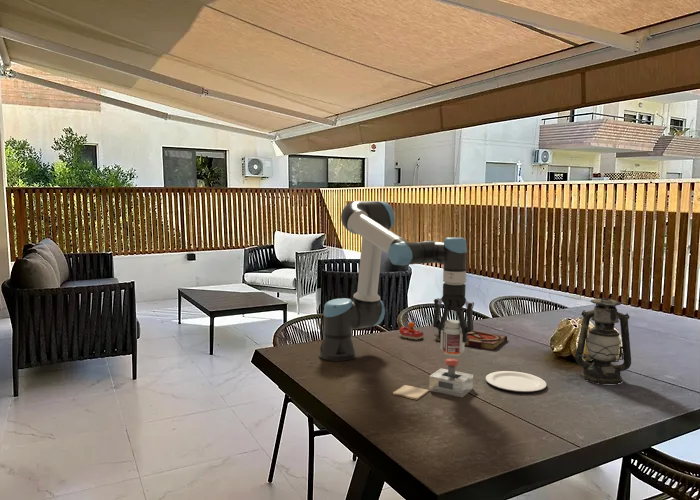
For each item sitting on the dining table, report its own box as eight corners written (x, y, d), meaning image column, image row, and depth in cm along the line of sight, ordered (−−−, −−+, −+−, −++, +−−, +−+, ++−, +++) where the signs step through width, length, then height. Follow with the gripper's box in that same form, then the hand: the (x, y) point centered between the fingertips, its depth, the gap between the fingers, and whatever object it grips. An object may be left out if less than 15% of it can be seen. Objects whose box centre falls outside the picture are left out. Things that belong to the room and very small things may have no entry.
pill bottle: (465, 354, 178) (466, 322, 177) (452, 357, 174) (453, 324, 173) (452, 350, 183) (453, 318, 182) (439, 352, 180) (440, 320, 179)
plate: (515, 399, 172) (515, 394, 172) (473, 380, 191) (473, 375, 191) (559, 389, 182) (559, 384, 182) (515, 372, 200) (515, 367, 200)
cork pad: (392, 394, 175) (392, 392, 175) (404, 386, 182) (404, 384, 182) (417, 400, 170) (417, 398, 170) (428, 391, 177) (428, 390, 177)
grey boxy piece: (428, 390, 179) (429, 376, 178) (440, 381, 187) (440, 368, 187) (462, 397, 172) (462, 383, 172) (472, 388, 181) (473, 374, 180)
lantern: (626, 375, 197) (631, 297, 194) (636, 392, 179) (641, 306, 176) (572, 369, 203) (576, 293, 200) (576, 385, 185) (581, 302, 182)
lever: (442, 378, 179) (443, 361, 178) (447, 375, 183) (448, 357, 182) (455, 381, 177) (455, 363, 176) (459, 377, 180) (460, 360, 180)
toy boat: (404, 334, 254) (404, 319, 254) (425, 338, 248) (426, 322, 247) (396, 337, 248) (396, 321, 247) (418, 341, 242) (418, 325, 241)
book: (506, 342, 245) (507, 332, 245) (493, 352, 227) (493, 340, 227) (449, 333, 260) (450, 323, 260) (432, 342, 242) (433, 331, 242)
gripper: (423, 281, 178) (422, 347, 181) (478, 287, 168) (475, 357, 170) (432, 279, 185) (431, 343, 187) (485, 284, 174) (483, 351, 177)
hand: (452, 349), depth 179 cm, fingers closed on pill bottle, 6 cm apart
